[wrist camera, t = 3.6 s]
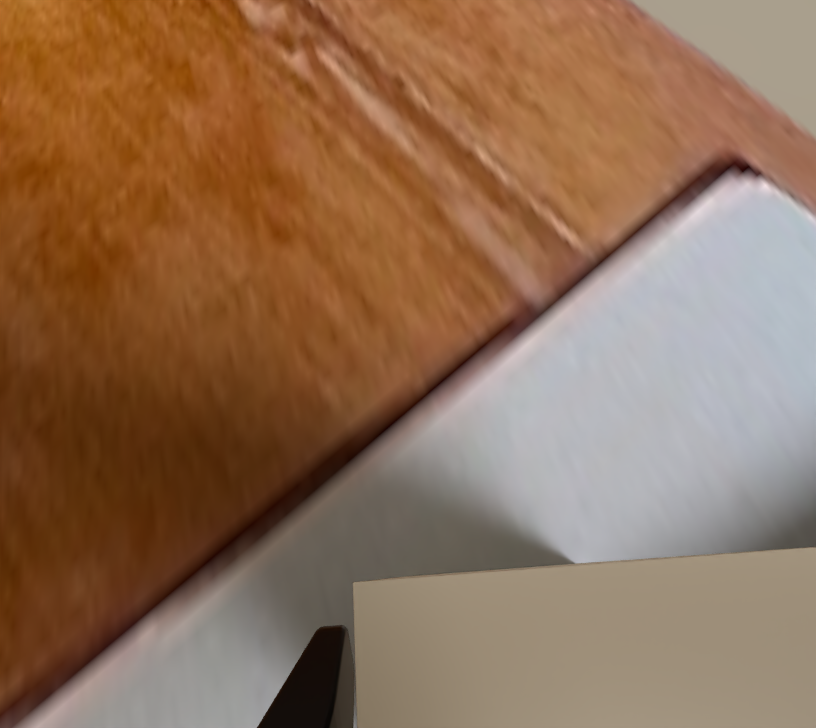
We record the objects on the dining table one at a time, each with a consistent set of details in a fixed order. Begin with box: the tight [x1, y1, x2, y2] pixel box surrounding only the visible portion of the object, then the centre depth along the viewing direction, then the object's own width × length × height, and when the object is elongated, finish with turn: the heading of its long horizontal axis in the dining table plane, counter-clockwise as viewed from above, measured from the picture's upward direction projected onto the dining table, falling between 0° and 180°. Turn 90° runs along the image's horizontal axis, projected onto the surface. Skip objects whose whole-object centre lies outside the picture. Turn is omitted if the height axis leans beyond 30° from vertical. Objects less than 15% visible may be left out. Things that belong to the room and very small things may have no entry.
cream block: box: [353, 547, 816, 728], centre depth 9 cm, size 4×4×11 cm
